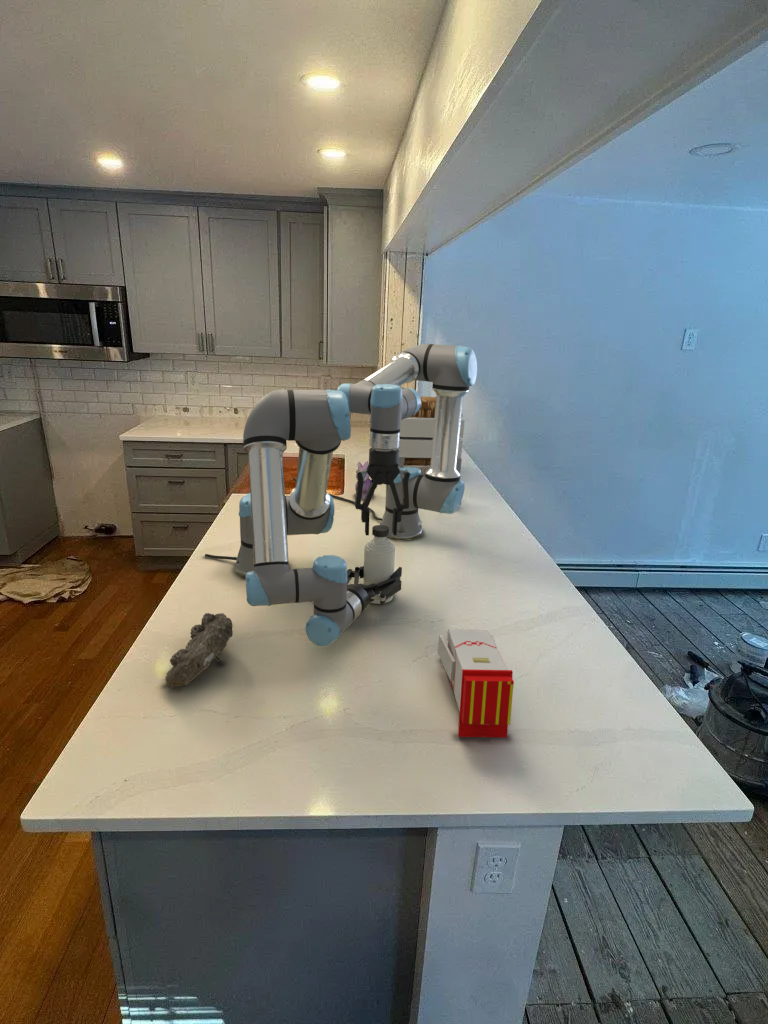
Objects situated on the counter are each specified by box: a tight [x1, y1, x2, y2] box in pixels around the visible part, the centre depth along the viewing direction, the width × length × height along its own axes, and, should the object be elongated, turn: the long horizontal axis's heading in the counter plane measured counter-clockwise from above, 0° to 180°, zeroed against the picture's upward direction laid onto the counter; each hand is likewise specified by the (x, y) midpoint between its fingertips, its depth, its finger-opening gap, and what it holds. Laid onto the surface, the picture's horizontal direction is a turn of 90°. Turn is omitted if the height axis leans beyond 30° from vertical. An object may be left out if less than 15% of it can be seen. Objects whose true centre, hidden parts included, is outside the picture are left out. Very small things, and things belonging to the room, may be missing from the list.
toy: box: [437, 628, 515, 738], centre depth 117 cm, size 12×13×30 cm
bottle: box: [362, 536, 396, 605], centre depth 153 cm, size 8×8×20 cm
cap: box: [371, 524, 389, 538], centre depth 149 cm, size 4×4×2 cm
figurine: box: [354, 460, 375, 501], centre depth 234 cm, size 9×10×15 cm
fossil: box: [165, 612, 234, 688], centre depth 123 cm, size 22×10×15 cm
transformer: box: [397, 385, 465, 475], centre depth 268 cm, size 34×33×41 cm
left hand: (385, 568), depth 158 cm, fingers closed on bottle, 8 cm apart
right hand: (380, 533), depth 150 cm, fingers open, 7 cm apart
